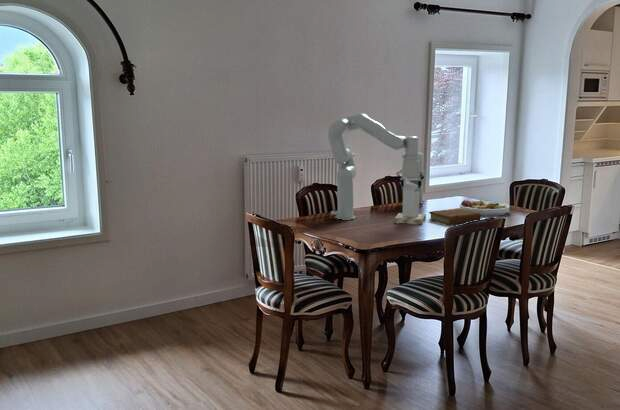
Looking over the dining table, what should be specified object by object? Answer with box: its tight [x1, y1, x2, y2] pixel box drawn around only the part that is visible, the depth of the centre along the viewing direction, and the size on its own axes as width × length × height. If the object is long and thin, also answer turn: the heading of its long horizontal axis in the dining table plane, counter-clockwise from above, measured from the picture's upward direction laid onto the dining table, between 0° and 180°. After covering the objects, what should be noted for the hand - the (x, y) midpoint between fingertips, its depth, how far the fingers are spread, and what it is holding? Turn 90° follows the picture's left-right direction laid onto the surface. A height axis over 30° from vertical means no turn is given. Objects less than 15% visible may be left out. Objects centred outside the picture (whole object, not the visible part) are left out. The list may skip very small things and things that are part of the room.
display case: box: [401, 152, 425, 208], centre depth 409 cm, size 11×11×35 cm
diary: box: [428, 207, 482, 227], centre depth 359 cm, size 23×19×6 cm
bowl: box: [459, 199, 510, 217], centre depth 384 cm, size 30×30×8 cm
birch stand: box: [394, 212, 427, 225], centre depth 360 cm, size 16×16×3 cm
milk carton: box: [402, 184, 420, 218], centre depth 358 cm, size 7×7×19 cm
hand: (410, 187), depth 356 cm, fingers open, 9 cm apart
